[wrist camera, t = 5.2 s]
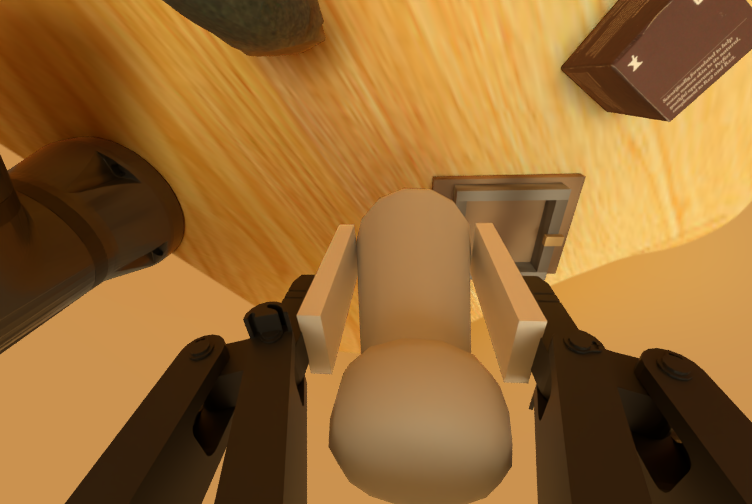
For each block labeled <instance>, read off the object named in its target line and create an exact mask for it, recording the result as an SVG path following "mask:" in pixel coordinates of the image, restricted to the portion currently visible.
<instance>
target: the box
mask: <svg viewBox="0 0 752 504" xmlns="http://www.w3.org/2000/svg"><path fill="white" fill-rule="evenodd" d="M751 49H752V7H751V6H750V4H749V3H748V2H747V1H746V0H619V1H618V2H617V3H616V4H615V5H614V6H613V8H612V9H611V10H610V11H609V12H608V13H607V15H606V16H605V17H604V18H603V19H602V20H601V22H600V23H599V24H598V25H597V26H596V27H595V29H594V30H593V31H592V32H591V33H590V34H589V36H588V37H587V38H586V39H585V40H584V41H583V43H582V44H581V45H580V46H579V47H578V49H577V50H576V51H575V52H574V53H573V54H572V56H571V57H570V58H569V59H568V60H567V62H566V63H565V64H564V65H563V66H562V70H563V71H564V72H565V73H566V74H567V75H568V76H569V77H570V78H571V79H572V80H574V82H576V83H577V84H578V85H579V86H580V87H581V88H582V89H583V90H584V91H585V92H587V93H588V94H589V95H590V96H591V97H592V98H593V99H594V100H595V101H596V102H597V103H598V104H600V105H601V106H602V107H603V108H604V109H605V110H606V111H607V112H614V113H619V114H625V115H631V116H638V117H643V118H649V119H657V120H662V121H668V122H670V121H671V120H673V119H674V118H675V117H676V116H677V115H678V114H679V113H680V112H682V111H683V110H684V109H685V108H686V107H687V106H688V105H689V104H691V103H692V102H693V101H694V100H695V99H696V98H697V97H698V96H700V95H701V94H702V93H703V92H704V91H705V90H706V89H707V88H709V87H710V86H711V85H712V84H713V83H714V82H715V81H716V80H718V79H719V78H720V77H721V76H722V75H723V74H724V73H725V72H727V71H728V70H729V69H730V68H731V67H732V66H733V65H734V64H736V63H737V62H738V61H739V60H740V59H741V58H742V57H743V56H745V55H746V54H747V53H748V52H749V51H750V50H751Z"/></svg>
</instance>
